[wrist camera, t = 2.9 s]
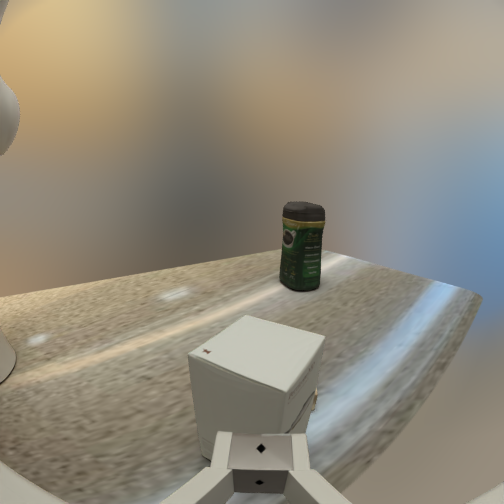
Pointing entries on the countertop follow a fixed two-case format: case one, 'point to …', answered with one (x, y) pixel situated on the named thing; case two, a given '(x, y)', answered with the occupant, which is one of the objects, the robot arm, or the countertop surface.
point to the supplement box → (254, 380)
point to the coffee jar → (302, 245)
